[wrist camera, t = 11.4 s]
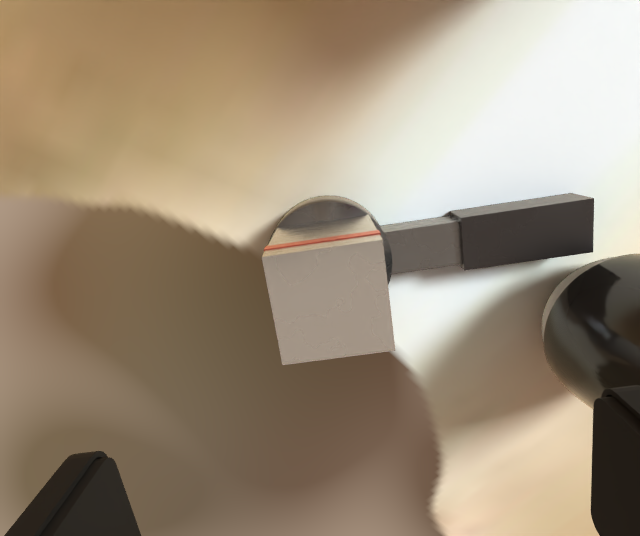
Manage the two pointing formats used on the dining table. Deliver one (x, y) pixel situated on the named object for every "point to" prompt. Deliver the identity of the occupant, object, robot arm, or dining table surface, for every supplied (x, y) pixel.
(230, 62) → the dining table surface
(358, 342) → the cardboard mailer box
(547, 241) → the small saucepan
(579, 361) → the dark brown rounded piece
